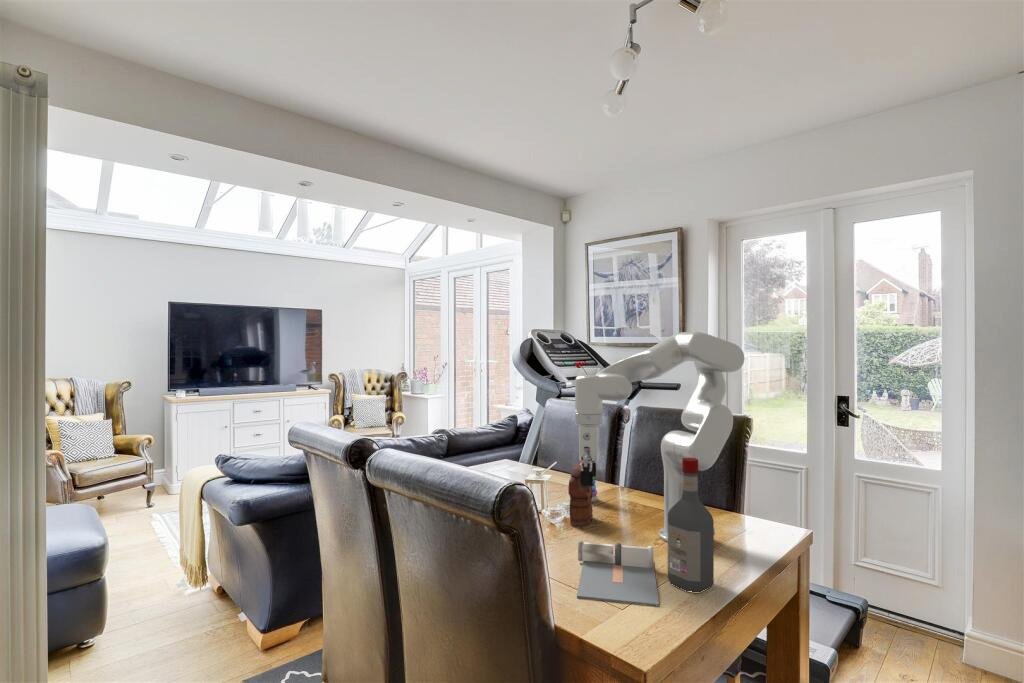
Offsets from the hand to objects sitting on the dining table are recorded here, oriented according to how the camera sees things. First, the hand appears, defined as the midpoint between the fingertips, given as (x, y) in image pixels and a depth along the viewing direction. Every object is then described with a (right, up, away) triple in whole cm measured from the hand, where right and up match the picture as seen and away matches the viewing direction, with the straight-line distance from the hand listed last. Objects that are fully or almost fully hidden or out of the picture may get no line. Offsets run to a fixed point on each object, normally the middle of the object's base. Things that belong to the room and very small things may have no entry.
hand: (588, 480), depth 144 cm
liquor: (+22, -20, -19) cm, 35 cm away
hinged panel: (+1, -19, -8) cm, 21 cm away
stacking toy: (+6, -20, +47) cm, 51 cm away
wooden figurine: (+1, -20, +24) cm, 31 cm away
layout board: (+5, -20, -16) cm, 26 cm away
